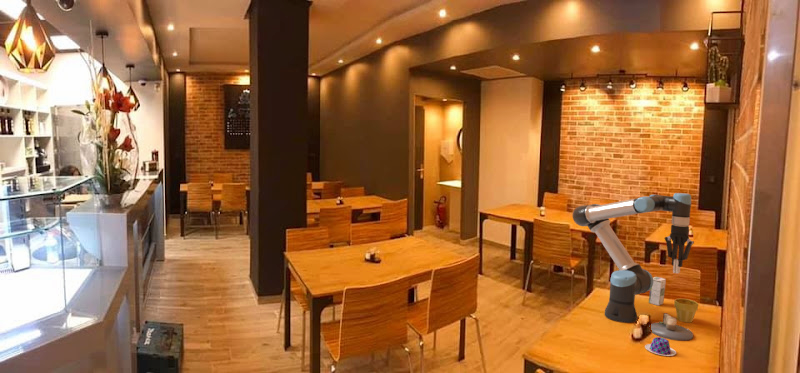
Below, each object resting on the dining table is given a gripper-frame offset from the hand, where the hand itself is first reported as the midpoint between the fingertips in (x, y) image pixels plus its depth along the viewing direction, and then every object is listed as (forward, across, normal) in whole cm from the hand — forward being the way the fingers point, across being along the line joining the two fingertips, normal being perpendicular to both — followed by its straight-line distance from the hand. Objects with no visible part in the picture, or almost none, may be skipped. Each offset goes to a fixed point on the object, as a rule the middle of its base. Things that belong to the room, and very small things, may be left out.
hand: (676, 272), depth 238 cm
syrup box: (+27, +21, -25) cm, 42 cm away
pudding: (+27, -13, +36) cm, 47 cm away
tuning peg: (+24, -3, +10) cm, 26 cm away
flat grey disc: (+26, -5, +12) cm, 29 cm away
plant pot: (+27, 0, -12) cm, 29 cm away
